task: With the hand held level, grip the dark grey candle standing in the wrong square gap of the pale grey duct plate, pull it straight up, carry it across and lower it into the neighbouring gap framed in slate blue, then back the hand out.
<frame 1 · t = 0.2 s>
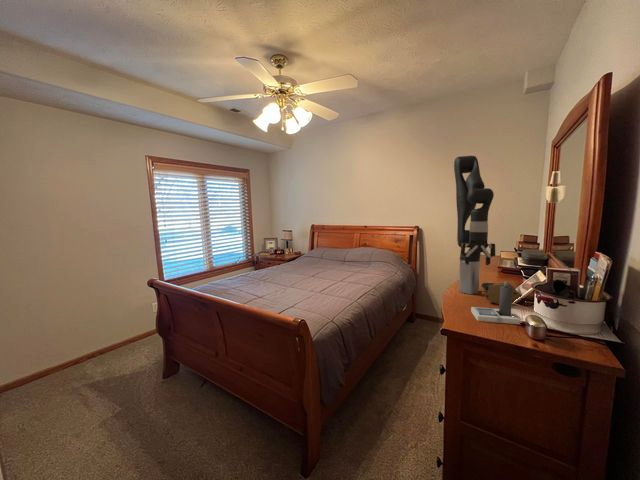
hand: (477, 264, 125), 18 cm above the table, tool pointing down, fingers open, 8 cm apart
carrying case or bag: (498, 291, 142), on the table
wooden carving: (501, 304, 122), on the table
duct plate: (495, 317, 108), on the table
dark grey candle: (504, 318, 107), resting in duct plate
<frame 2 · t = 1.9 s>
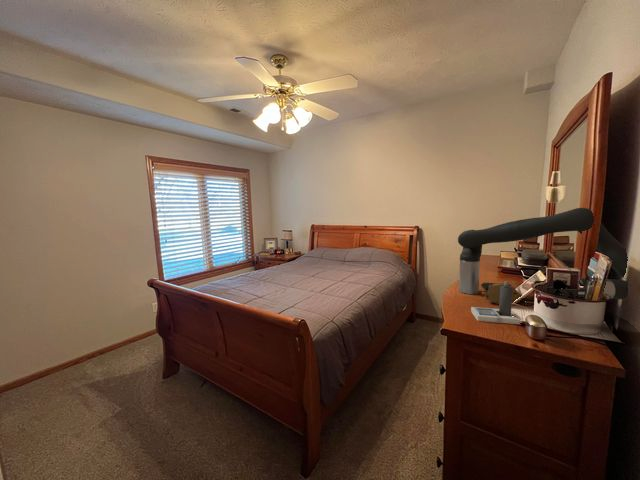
hand: (540, 286, 102), 14 cm above the table, tool horizontal, fingers open, 8 cm apart
nothing on the table moved.
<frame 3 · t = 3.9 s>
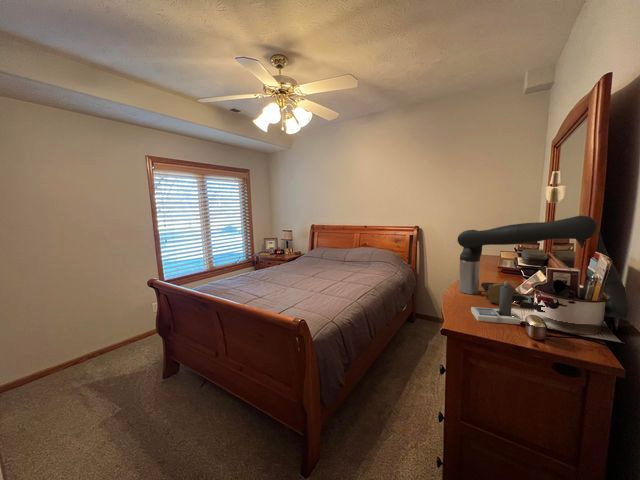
hand: (515, 301, 105), 7 cm above the table, tool horizontal, fingers open, 8 cm apart
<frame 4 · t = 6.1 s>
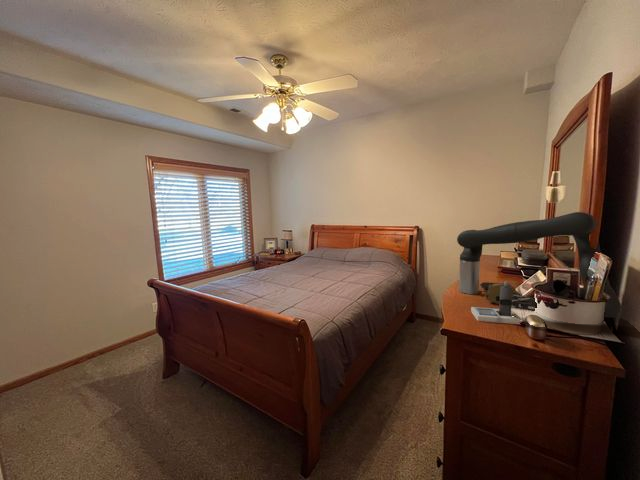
hand: (497, 300, 107), 8 cm above the table, tool horizontal, fingers closed on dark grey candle, 4 cm apart
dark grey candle: (504, 318, 107), resting in duct plate, touching gripper
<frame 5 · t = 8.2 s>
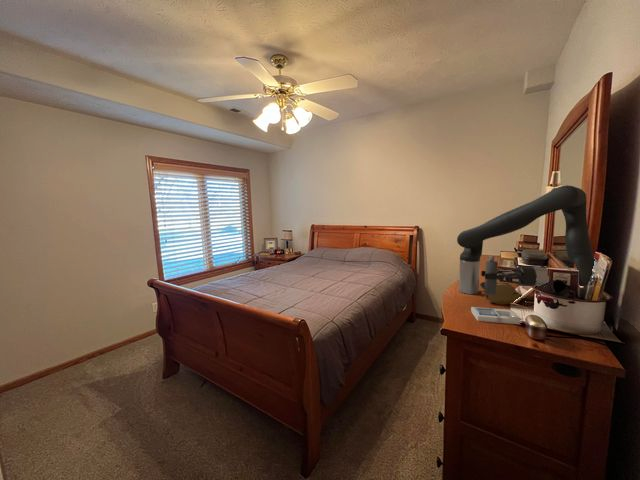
hand: (483, 274, 107), 18 cm above the table, tool horizontal, fingers closed on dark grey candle, 4 cm apart
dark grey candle: (490, 292, 107), point 10 cm above the table, touching gripper
when the fingers open (8 cm above the table, at t = 10.6 s): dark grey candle stays where it is, resting in duct plate.
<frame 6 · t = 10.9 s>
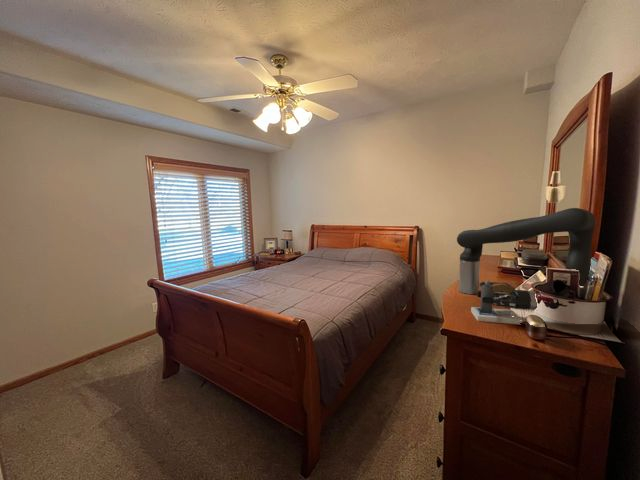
hand: (479, 297, 108), 8 cm above the table, tool horizontal, fingers open, 6 cm apart
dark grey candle: (485, 316, 109), resting in duct plate
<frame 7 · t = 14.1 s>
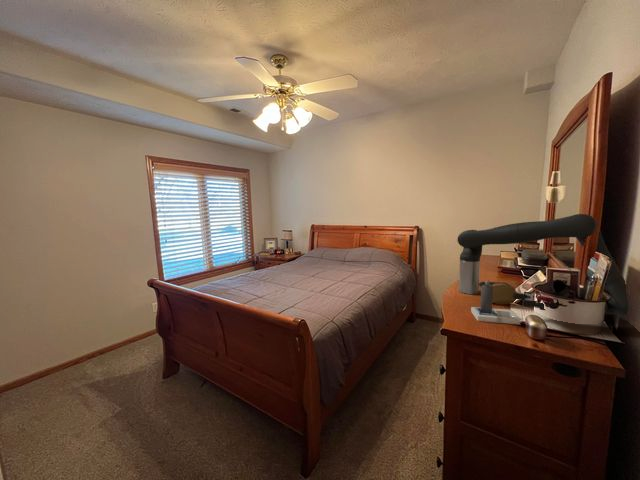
hand: (518, 299, 104), 8 cm above the table, tool horizontal, fingers open, 8 cm apart
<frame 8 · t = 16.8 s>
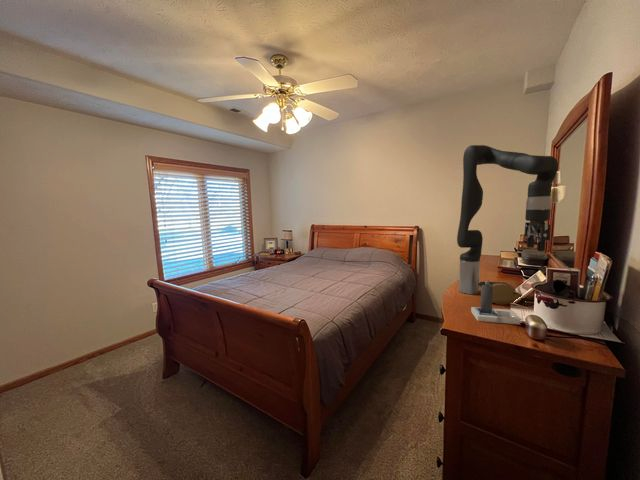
hand: (535, 249, 104), 28 cm above the table, tool pointing down, fingers open, 8 cm apart
at the end: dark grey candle 0.1 cm from the target spot on the duct plate, point 0.0 cm above the duct plate's base; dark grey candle tilted 0°; the gripper is holding nothing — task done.
